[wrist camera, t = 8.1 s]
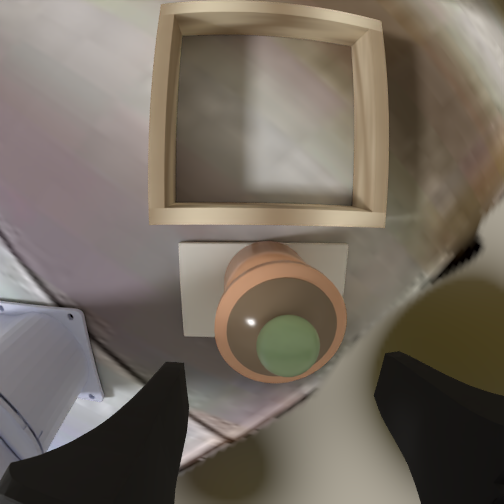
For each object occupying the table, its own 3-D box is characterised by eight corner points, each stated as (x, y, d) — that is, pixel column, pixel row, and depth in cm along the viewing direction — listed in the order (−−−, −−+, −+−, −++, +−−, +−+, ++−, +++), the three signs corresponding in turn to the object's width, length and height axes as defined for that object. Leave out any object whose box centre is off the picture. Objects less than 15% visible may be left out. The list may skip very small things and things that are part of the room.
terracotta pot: (220, 325, 19) (216, 422, 11) (217, 235, 17) (207, 289, 9) (309, 323, 19) (355, 411, 11) (315, 235, 18) (380, 284, 10)
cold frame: (162, 216, 17) (149, 224, 15) (170, 26, 15) (161, 4, 12) (362, 219, 18) (384, 227, 15) (362, 38, 15) (381, 21, 12)
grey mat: (184, 333, 19) (184, 336, 19) (179, 242, 18) (178, 243, 17) (336, 330, 20) (338, 333, 20) (346, 243, 18) (348, 244, 18)
